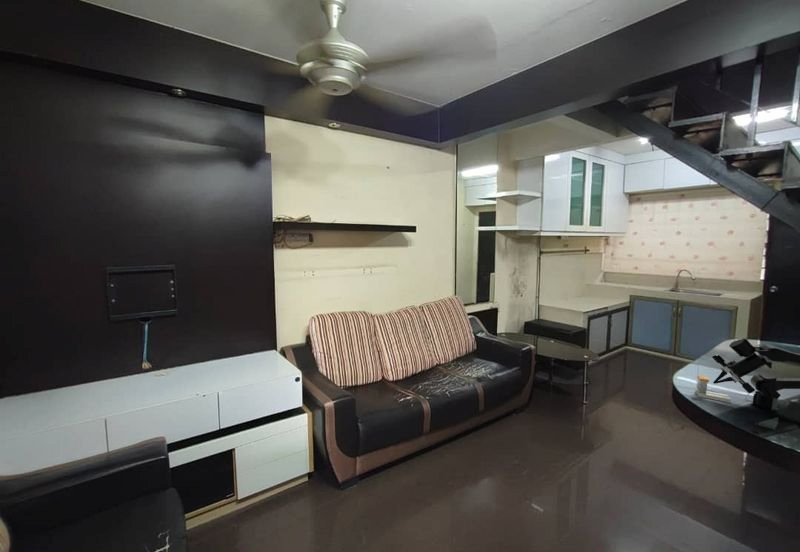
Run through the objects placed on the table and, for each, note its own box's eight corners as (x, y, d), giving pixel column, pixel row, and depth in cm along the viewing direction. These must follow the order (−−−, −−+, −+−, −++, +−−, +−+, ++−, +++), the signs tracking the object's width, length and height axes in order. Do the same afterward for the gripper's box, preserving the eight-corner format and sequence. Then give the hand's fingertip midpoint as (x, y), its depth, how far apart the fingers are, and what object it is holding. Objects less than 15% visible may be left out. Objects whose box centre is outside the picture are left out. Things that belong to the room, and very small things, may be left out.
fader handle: (704, 390, 167) (705, 376, 166) (707, 393, 162) (709, 380, 162) (695, 388, 168) (697, 375, 168) (698, 392, 164) (700, 378, 163)
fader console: (726, 397, 163) (727, 394, 163) (731, 402, 158) (731, 399, 158) (695, 391, 169) (695, 388, 169) (698, 396, 164) (699, 393, 163)
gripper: (766, 383, 157) (731, 400, 164) (729, 348, 168) (697, 365, 174) (769, 383, 149) (732, 402, 155) (729, 346, 159) (696, 365, 166)
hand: (713, 383), depth 163 cm, fingers closed
